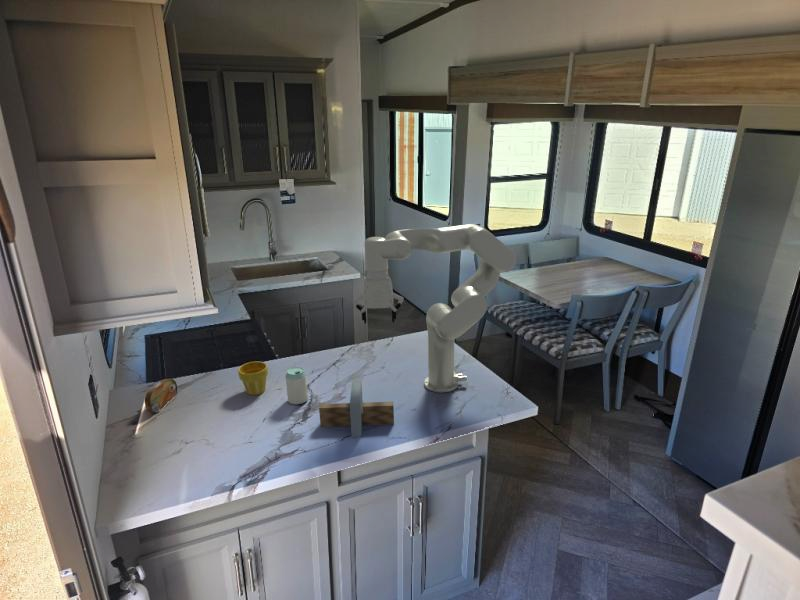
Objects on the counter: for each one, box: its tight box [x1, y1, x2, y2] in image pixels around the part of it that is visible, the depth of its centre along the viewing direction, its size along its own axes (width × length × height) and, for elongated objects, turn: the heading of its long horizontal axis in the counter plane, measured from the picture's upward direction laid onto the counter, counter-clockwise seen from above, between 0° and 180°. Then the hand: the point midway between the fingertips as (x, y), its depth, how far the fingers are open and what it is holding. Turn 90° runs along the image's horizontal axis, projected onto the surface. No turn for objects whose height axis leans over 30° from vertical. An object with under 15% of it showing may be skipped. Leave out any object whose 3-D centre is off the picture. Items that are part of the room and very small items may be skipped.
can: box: [285, 366, 309, 405], centre depth 185 cm, size 7×7×12 cm
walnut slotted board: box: [318, 401, 395, 428], centre depth 171 cm, size 24×2×7 cm, turn 91°
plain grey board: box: [349, 378, 364, 439], centre depth 170 cm, size 16×3×12 cm, turn 2°
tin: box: [144, 378, 178, 413], centre depth 185 cm, size 15×3×8 cm, turn 168°
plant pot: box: [237, 360, 269, 396], centre depth 193 cm, size 10×10×10 cm
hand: (379, 321), depth 181 cm, fingers open, 9 cm apart
